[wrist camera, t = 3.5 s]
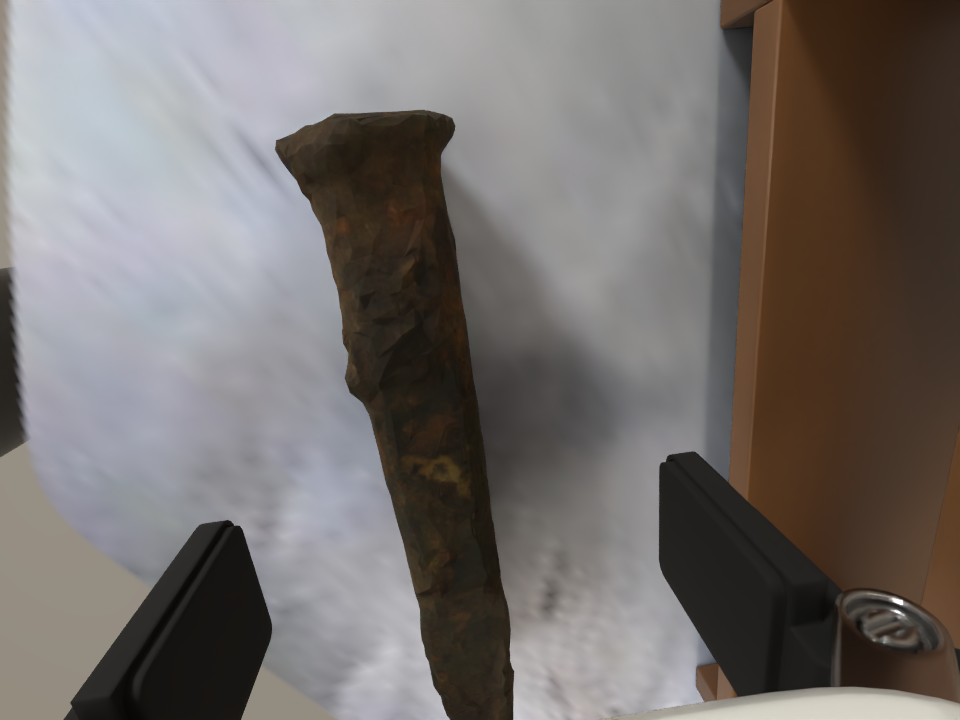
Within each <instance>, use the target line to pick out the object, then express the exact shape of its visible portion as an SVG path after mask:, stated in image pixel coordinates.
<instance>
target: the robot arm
mask: <svg viewBox="0 0 960 720" xmlns="http://www.w3.org/2000/svg"><path fill="white" fill-rule="evenodd" d="M659 562H660V567H661V570H662V573H663V575H664V577H665V579H666V581H667V582H668V584H669V585H670V587H671V589H672V590H673V592H674V594H675V595H676V597H677V598H678V600H679V602H680V603H681V605H682V607H683V608H684V610H685V611H686V613H687V615H688V616H689V618H690V620H691V621H692V623H693V624H694V626H695V628H696V629H697V631H698V633H699V634H700V636H701V637H702V639H703V641H704V642H705V644H706V646H707V647H708V649H709V651H710V652H711V654H712V655H713V657H714V659H715V660H716V662H717V664H718V665H719V667H720V668H721V670H722V672H723V673H724V675H725V677H726V678H727V680H728V681H729V683H730V685H731V686H732V688H733V690H734V691H735V693H736V694H737V696H738V697H736V698H729V699H723V700H716V701H709V702H702V703H696V704H689V705H683V706H677V707H671V708H665V709H659V710H653V711H647V712H641V713H635V714H629V715H623V716H617V717H611V718H605V719H599V720H960V649H957V648H954V643H953V640H952V638H951V636H950V634H949V632H948V630H947V628H946V627H945V626H944V625H943V624H942V623H941V622H940V621H939V619H938V618H937V617H935V616H934V615H933V614H931V613H930V612H929V611H927V610H926V609H925V608H923V607H922V606H920V605H918V604H916V603H914V602H912V601H911V600H909V599H907V598H905V597H902V596H899V595H897V594H894V593H891V592H888V591H884V590H879V589H874V588H854V589H850V590H846V591H844V592H843V591H842V590H841V589H840V588H839V587H838V586H837V585H836V584H835V583H834V582H833V581H832V580H831V579H830V578H829V577H828V576H827V575H826V574H824V573H823V572H822V571H821V570H820V569H819V568H818V567H817V566H816V565H815V564H814V563H813V562H812V561H811V560H810V559H809V558H808V557H807V556H806V555H805V554H803V553H802V552H801V551H800V550H799V549H798V548H797V547H796V546H795V545H794V544H793V543H792V542H791V541H790V540H789V539H788V538H787V537H786V536H785V535H784V534H782V533H781V532H780V531H779V530H778V529H777V528H776V527H775V526H774V525H773V524H772V523H771V522H770V521H769V520H768V519H767V518H766V517H765V516H764V515H762V514H761V513H760V512H759V511H758V510H757V509H756V508H754V507H753V506H752V505H751V504H750V503H749V502H748V501H747V500H746V499H745V498H744V497H743V496H742V495H741V494H739V493H738V492H737V491H736V490H735V489H734V488H733V487H732V486H731V485H730V484H729V483H728V482H727V481H726V480H725V479H724V478H723V477H722V476H721V475H720V474H718V473H717V472H716V471H715V470H714V469H713V468H712V467H711V466H710V465H709V464H708V463H707V462H706V461H705V460H704V459H703V458H702V457H701V456H700V455H699V454H697V453H696V452H685V453H679V454H672V455H669V456H668V457H667V459H666V462H662V463H661V464H660V469H659ZM271 634H272V623H271V619H270V616H269V612H268V609H267V606H266V603H265V600H264V597H263V593H262V590H261V587H260V584H259V581H258V577H257V574H256V571H255V568H254V565H253V562H252V558H251V555H250V552H249V549H248V546H247V543H246V539H245V536H244V533H243V530H242V528H241V527H240V526H234V524H233V523H232V522H231V521H229V520H226V521H219V522H212V523H205V524H201V525H199V526H198V527H197V528H196V530H195V531H194V532H193V534H192V535H191V536H190V538H189V539H188V541H187V542H186V543H185V545H184V546H183V548H182V549H181V550H180V552H179V553H178V554H177V556H176V557H175V559H174V560H173V561H172V563H171V564H170V566H169V567H168V568H167V570H166V571H165V572H164V574H163V575H162V577H161V578H160V579H159V581H158V582H157V584H156V585H155V586H154V588H153V589H152V590H151V592H150V593H149V595H148V596H147V597H146V599H145V600H144V602H143V603H142V604H141V606H140V607H139V608H138V610H137V611H136V613H135V614H134V615H133V617H132V618H131V620H130V621H129V622H128V624H127V625H126V627H125V628H124V629H123V631H122V632H121V633H120V635H119V636H118V637H117V639H116V640H115V642H114V643H113V644H112V646H111V647H110V649H109V650H108V651H107V653H106V654H105V655H104V657H103V658H102V660H101V661H100V662H99V664H98V665H97V666H96V668H95V669H94V671H93V672H92V674H91V675H90V676H89V678H88V679H87V680H86V682H85V683H84V684H83V686H82V687H81V689H80V690H79V692H78V693H77V694H76V695H75V697H74V698H73V700H72V701H71V705H72V709H71V710H70V712H69V713H68V714H67V716H66V717H65V718H64V720H241V718H242V715H243V713H244V710H245V707H246V704H247V702H248V699H249V696H250V694H251V691H252V688H253V685H254V683H255V680H256V677H257V675H258V672H259V669H260V667H261V664H262V661H263V659H264V656H265V653H266V650H267V648H268V645H269V642H270V639H271Z"/></svg>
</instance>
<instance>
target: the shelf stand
mask: <svg viewBox="0 0 960 720" xmlns="http://www.w3.org/2000/svg"><path fill="white" fill-rule="evenodd" d="M720 26H721V28H722V29H730V28H741V27H751V26H754V29H753V48H752V66H751V84H750V103H749V121H748V139H747V158H746V176H745V194H744V213H743V231H742V249H741V268H740V286H739V304H738V323H737V341H736V359H735V378H734V396H733V414H732V433H731V451H730V469H729V484H730V485H731V486H732V487H733V488H734V489H735V490H736V491H737V492H738V493H739V494H741V495H742V496H743V497H744V498H745V499H746V500H747V501H748V502H749V503H750V504H751V505H752V506H753V507H754V508H756V509H757V510H758V511H759V512H760V513H761V514H762V515H764V516H765V517H766V518H767V519H768V520H769V521H770V522H771V523H772V524H773V525H774V526H775V527H776V528H777V529H778V530H779V531H780V532H781V533H782V534H784V535H785V536H786V537H787V538H788V539H789V540H790V541H791V542H792V543H793V544H794V545H795V546H796V547H797V548H798V549H799V550H800V551H801V552H802V553H803V554H805V555H806V556H807V557H808V558H809V559H810V560H811V561H812V562H813V563H814V564H815V565H816V566H817V567H818V568H819V569H820V570H821V571H822V572H823V573H824V574H826V575H827V576H828V577H829V578H830V579H831V580H832V581H833V582H834V583H835V584H836V585H837V586H838V587H839V588H840V589H841V590H842V591H843V592H844V591H846V590H850V589H854V588H874V589H879V590H884V591H888V592H891V593H894V594H897V595H899V596H902V597H905V598H907V599H909V600H911V601H912V602H914V603H916V604H918V605H920V606H922V607H923V608H925V609H926V610H927V611H929V612H930V613H931V614H933V615H934V616H935V617H937V618H938V619H939V621H940V622H941V623H942V624H943V625H944V626H945V627H946V628H947V630H948V632H949V634H950V636H951V638H952V640H953V643H954V648H957V649H960V0H721V25H720ZM696 687H697V689H698V691H699V693H700V695H701V696H702V698H703V700H704V702H709V701H716V700H723V699H729V698H736V697H738V696H737V694H736V693H735V691H734V690H733V688H732V686H731V685H730V683H729V681H728V680H727V678H726V677H725V675H724V673H723V672H722V670H721V668H720V667H719V665H718V664H717V663H715V664H710V665H705V666H700V667H697V679H696Z"/></svg>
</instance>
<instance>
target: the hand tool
mask: <svg viewBox="0 0 960 720" xmlns="http://www.w3.org/2000/svg"><path fill="white" fill-rule="evenodd" d="M454 131H455V125H454V122H453V119H452V118H450V117H448V116H446V115H444V114H439V113H436V112H431V111H426V110H414V111H400V112H375V113H361V114H333V115H332V116H330V117H328V118H326V119H325V120H323V121H321V122H319V123H316V124H314V125H307V126H304V127H303V128H301V129H300V130H298V131H297V132H296V133H294V134H292V135H289V136H287V137H284V138H282V139H280V140H276V147H275V150H276V152H277V154H278V156H279V158H280V159H281V161H282V162H283V164H284V165H285V166H286V168H287V169H288V170H289V172H290V173H291V174H292V176H293V177H294V178H295V179H296V180H297V182H298V185H299V187H300V189H301V191H302V193H303V194H304V195H305V196H306V197H307V199H308V200H309V201H310V203H311V206H312V210H313V212H314V214H315V215H316V217H317V219H318V221H319V222H320V224H321V226H322V229H323V233H324V237H325V242H326V248H327V254H328V257H329V260H330V263H331V268H332V274H333V278H334V280H335V283H336V285H337V289H338V294H339V302H340V309H341V313H342V322H343V330H342V334H343V344H344V346H345V347H346V349H347V351H348V353H349V355H348V366H347V371H346V375H345V380H346V383H347V385H348V388H349V391H350V393H351V394H352V395H354V396H355V397H356V398H358V399H359V400H360V401H361V402H363V404H364V406H365V408H366V410H367V412H368V414H369V416H370V419H371V422H372V427H373V431H374V435H375V439H376V442H377V446H378V450H379V454H380V459H381V463H382V468H383V472H384V476H385V480H386V484H387V487H388V490H389V493H390V495H391V498H392V503H393V508H394V511H395V515H396V519H397V522H398V526H399V529H400V533H401V536H402V539H403V543H404V548H405V552H406V556H407V561H408V565H409V569H410V573H411V578H412V582H413V586H414V590H415V594H416V597H417V600H418V603H419V607H420V626H421V636H422V641H423V644H424V647H425V654H426V657H427V659H428V661H429V665H430V670H431V675H432V680H433V685H434V687H435V689H436V690H437V692H438V693H439V695H440V696H441V699H442V703H443V706H444V709H445V711H446V714H447V716H448V717H449V718H450V720H513V682H514V670H513V669H512V666H511V663H510V650H509V648H510V620H509V611H508V606H507V601H506V598H505V594H504V590H503V586H502V582H501V575H500V566H499V558H498V552H497V546H496V540H495V532H494V524H493V520H492V515H491V506H490V494H489V487H488V480H487V471H486V459H485V452H484V444H483V438H482V433H481V427H480V421H479V408H478V402H477V396H476V391H475V386H474V382H473V375H472V366H471V358H470V350H469V342H468V333H467V325H466V319H465V314H464V309H463V304H462V298H461V289H460V279H459V272H458V265H457V257H456V246H455V239H454V235H453V232H452V228H451V224H450V221H449V217H448V213H447V208H446V202H445V197H444V191H443V185H442V180H441V174H440V168H441V153H442V151H443V150H444V148H445V147H446V145H447V144H448V142H449V141H450V139H451V138H452V136H453V133H454Z"/></svg>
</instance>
